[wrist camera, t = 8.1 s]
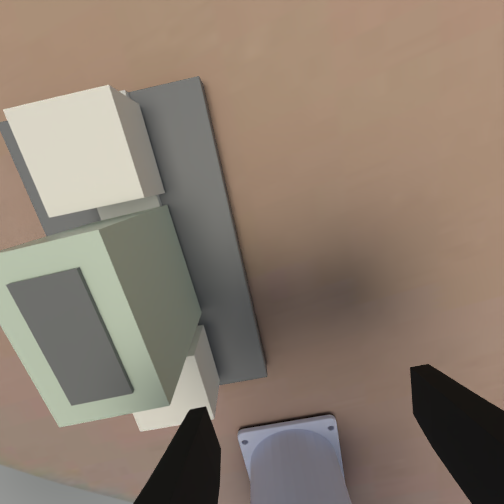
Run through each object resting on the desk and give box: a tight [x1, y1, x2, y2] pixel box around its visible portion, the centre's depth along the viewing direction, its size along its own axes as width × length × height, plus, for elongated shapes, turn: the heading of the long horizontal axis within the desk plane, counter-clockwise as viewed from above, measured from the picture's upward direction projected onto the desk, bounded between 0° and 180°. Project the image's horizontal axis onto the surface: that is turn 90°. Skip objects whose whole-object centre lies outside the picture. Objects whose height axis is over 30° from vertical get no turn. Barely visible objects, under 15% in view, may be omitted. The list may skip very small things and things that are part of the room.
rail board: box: [0, 76, 267, 432], centre depth 15 cm, size 19×11×5 cm, turn 12°
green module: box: [0, 205, 202, 427], centre depth 12 cm, size 7×4×7 cm, turn 13°
